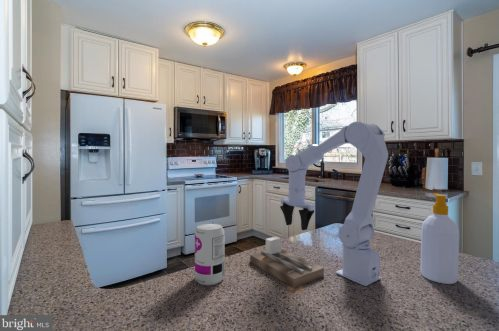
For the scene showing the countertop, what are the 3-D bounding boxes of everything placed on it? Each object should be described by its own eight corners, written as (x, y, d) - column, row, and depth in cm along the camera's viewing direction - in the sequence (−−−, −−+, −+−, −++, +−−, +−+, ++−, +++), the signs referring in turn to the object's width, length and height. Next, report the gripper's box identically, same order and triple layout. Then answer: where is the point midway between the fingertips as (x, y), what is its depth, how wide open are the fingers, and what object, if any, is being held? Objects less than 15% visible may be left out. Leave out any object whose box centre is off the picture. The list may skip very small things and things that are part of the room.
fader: (281, 254, 84) (281, 238, 84) (270, 257, 81) (271, 241, 81) (275, 251, 86) (275, 236, 86) (265, 254, 84) (265, 238, 84)
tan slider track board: (323, 276, 75) (323, 265, 75) (293, 288, 68) (294, 276, 68) (277, 254, 91) (277, 245, 91) (250, 262, 84) (250, 252, 84)
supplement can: (196, 288, 68) (195, 231, 67) (194, 274, 75) (193, 223, 75) (226, 284, 70) (226, 229, 69) (221, 271, 78) (221, 221, 77)
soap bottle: (447, 271, 78) (450, 193, 77) (463, 286, 69) (467, 198, 68) (415, 268, 80) (417, 192, 80) (426, 282, 71) (429, 196, 70)
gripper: (274, 187, 95) (274, 224, 95) (304, 192, 83) (303, 234, 84) (288, 186, 99) (288, 221, 99) (318, 190, 87) (318, 230, 88)
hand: (296, 227), depth 92 cm, fingers open, 7 cm apart
